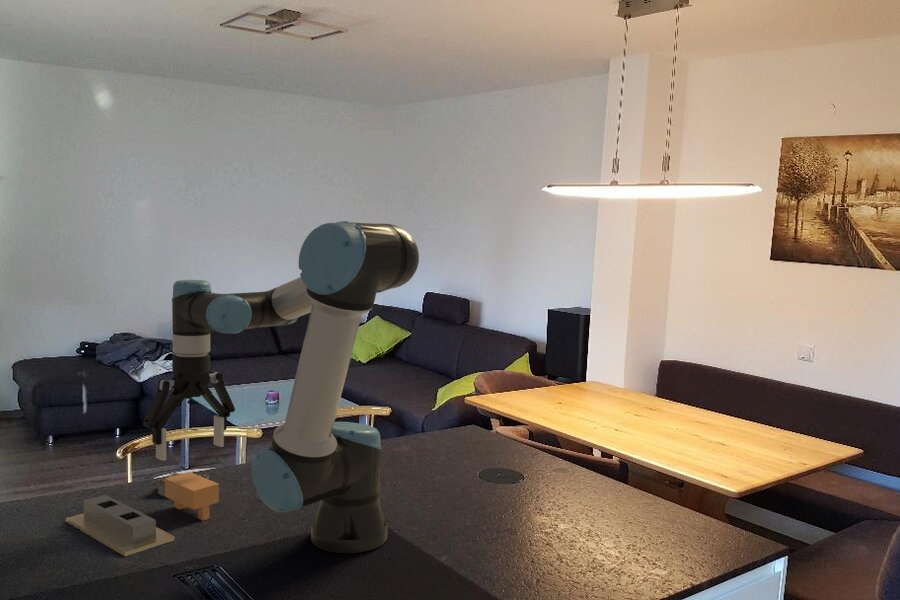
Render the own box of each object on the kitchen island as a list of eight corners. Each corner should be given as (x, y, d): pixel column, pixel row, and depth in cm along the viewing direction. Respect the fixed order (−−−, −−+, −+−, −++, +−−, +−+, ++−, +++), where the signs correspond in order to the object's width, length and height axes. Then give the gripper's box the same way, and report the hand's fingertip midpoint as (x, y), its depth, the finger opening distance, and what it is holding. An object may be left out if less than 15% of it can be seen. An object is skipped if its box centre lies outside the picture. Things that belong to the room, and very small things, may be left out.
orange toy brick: (218, 515, 159) (218, 483, 158) (193, 523, 154) (193, 490, 153) (190, 502, 166) (190, 472, 165) (165, 510, 161) (164, 478, 160)
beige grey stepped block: (174, 540, 146) (174, 518, 145) (124, 556, 138) (124, 534, 138) (113, 508, 161) (113, 489, 160) (66, 521, 153) (65, 501, 153)
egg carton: (153, 497, 169) (153, 479, 169) (167, 486, 177) (167, 469, 176) (200, 499, 169) (199, 481, 168) (212, 487, 176) (212, 470, 176)
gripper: (231, 345, 169) (230, 436, 171) (124, 357, 149) (125, 460, 151) (251, 349, 164) (250, 443, 166) (144, 363, 145) (144, 469, 147)
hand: (190, 452), depth 159 cm, fingers open, 13 cm apart
